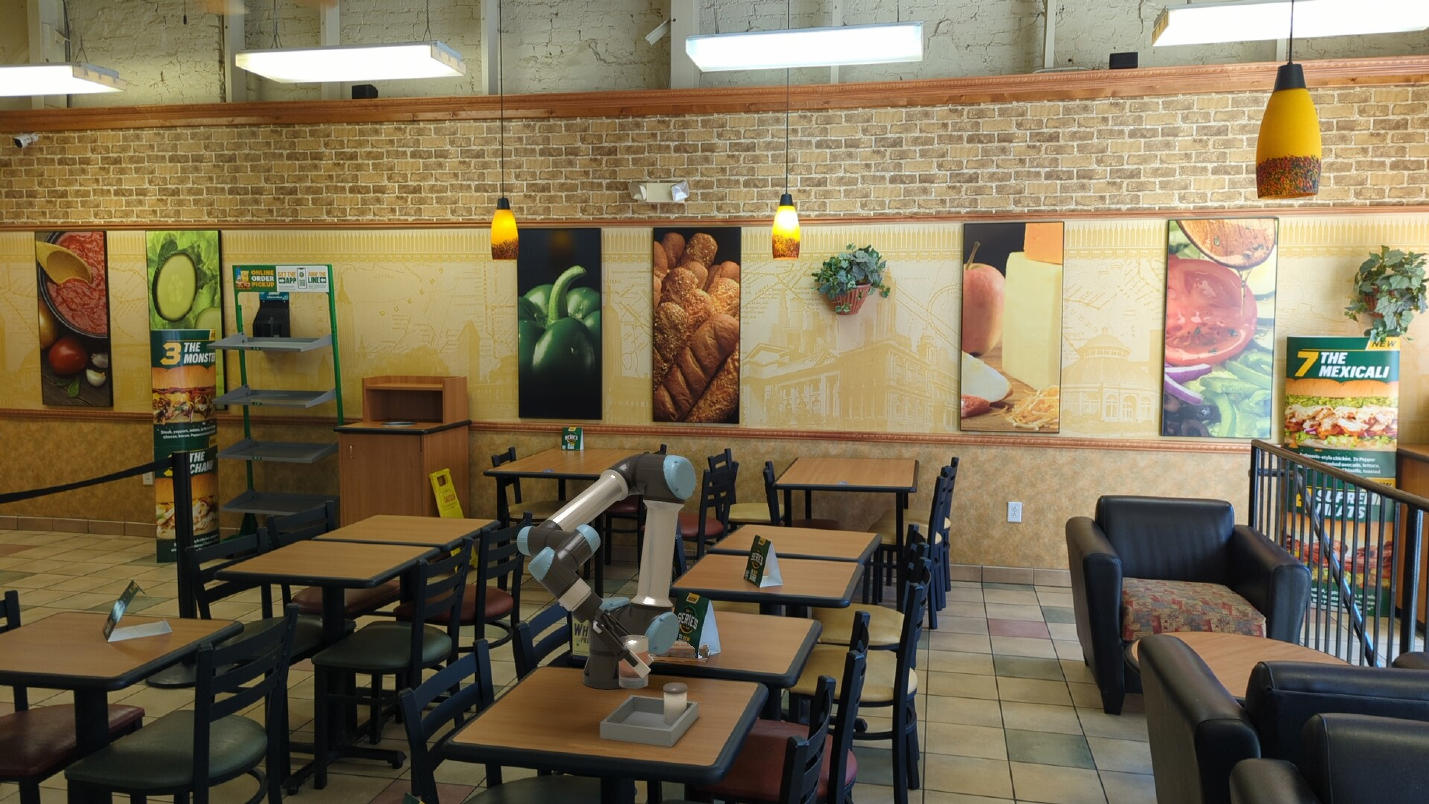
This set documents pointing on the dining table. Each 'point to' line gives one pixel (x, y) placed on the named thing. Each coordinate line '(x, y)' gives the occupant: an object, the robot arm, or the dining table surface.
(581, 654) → the protein box
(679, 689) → the cup lid
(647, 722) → the grey tray
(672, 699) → the capped white cylinder
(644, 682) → the clear orange banded jar
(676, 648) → the packaged product
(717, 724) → the dining table surface
